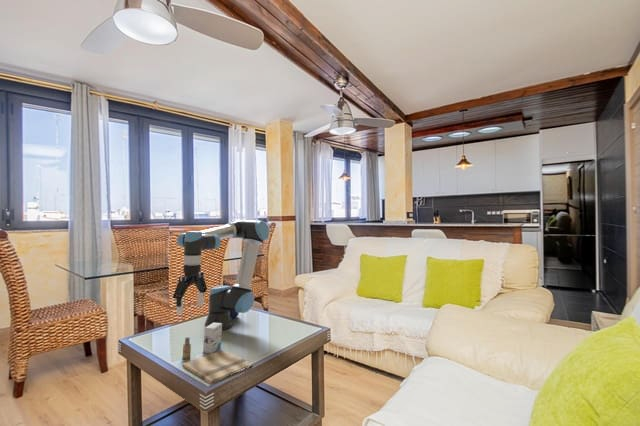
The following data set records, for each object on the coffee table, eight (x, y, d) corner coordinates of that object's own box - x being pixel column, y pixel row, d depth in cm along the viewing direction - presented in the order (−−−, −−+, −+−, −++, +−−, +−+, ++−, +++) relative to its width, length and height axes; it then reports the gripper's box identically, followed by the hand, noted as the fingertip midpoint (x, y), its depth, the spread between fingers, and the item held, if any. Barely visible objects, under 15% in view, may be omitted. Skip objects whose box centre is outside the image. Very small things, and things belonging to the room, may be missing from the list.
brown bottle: (188, 355, 146) (189, 336, 146) (191, 358, 144) (192, 337, 144) (181, 358, 143) (182, 337, 144) (184, 360, 141) (185, 339, 141)
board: (223, 352, 151) (224, 349, 151) (252, 366, 138) (252, 363, 138) (182, 366, 136) (183, 363, 136) (210, 383, 122) (210, 380, 122)
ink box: (212, 345, 158) (213, 321, 159) (221, 347, 157) (222, 323, 158) (202, 352, 150) (203, 327, 150) (212, 354, 149) (213, 328, 149)
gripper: (203, 260, 163) (201, 302, 163) (165, 266, 139) (163, 315, 139) (215, 261, 161) (213, 304, 160) (179, 268, 137) (177, 318, 137)
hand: (190, 309), depth 150 cm, fingers open, 13 cm apart
